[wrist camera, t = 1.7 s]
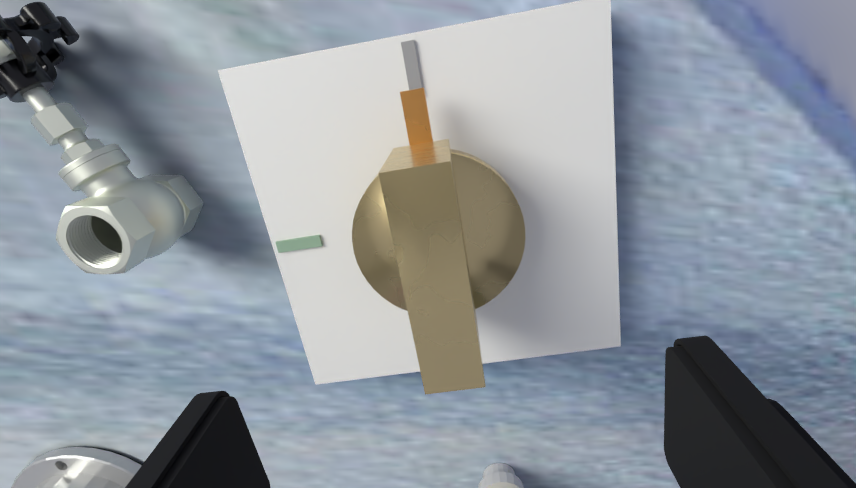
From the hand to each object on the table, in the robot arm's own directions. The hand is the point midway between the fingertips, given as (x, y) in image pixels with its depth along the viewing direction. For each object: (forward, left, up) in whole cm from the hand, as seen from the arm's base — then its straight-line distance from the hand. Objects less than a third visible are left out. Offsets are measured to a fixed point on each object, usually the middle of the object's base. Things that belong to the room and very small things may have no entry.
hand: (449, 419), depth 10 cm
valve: (+6, +17, -18) cm, 26 cm away
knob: (+1, 0, -14) cm, 15 cm away
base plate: (0, 0, -18) cm, 18 cm away
